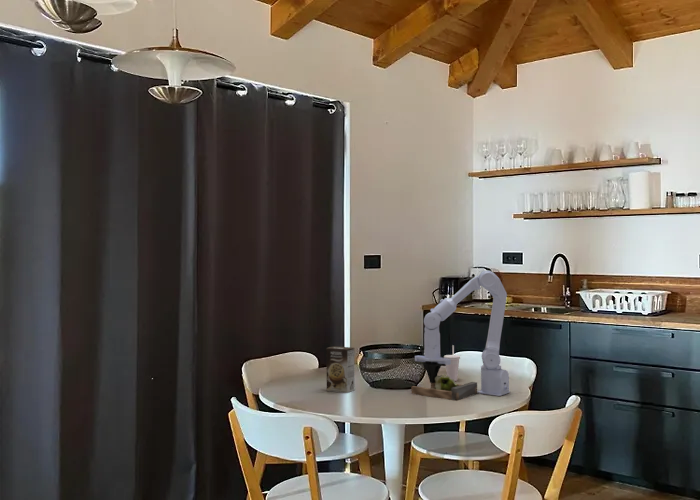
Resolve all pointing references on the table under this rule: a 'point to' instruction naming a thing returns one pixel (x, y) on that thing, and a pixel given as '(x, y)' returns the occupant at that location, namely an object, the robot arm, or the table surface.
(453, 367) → the smoothie
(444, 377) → the fruit
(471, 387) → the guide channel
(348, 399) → the table surface
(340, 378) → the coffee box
